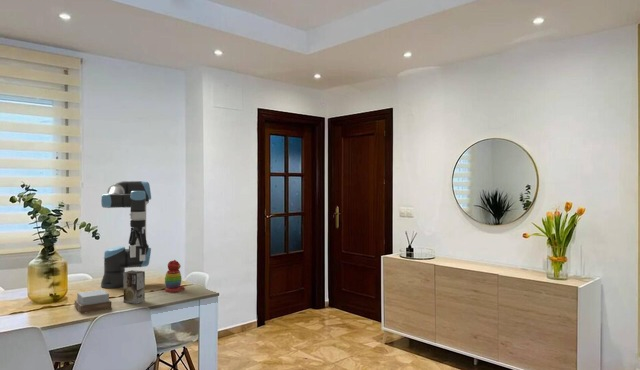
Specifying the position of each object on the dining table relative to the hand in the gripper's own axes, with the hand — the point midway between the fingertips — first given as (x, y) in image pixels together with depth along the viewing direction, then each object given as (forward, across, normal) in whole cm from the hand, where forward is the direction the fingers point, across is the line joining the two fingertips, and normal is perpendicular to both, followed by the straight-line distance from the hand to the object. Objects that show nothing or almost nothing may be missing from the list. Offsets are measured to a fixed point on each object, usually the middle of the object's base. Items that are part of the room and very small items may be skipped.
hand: (137, 259), depth 240 cm
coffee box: (+23, 0, -2) cm, 23 cm away
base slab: (+23, -2, -22) cm, 32 cm away
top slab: (+19, -2, -22) cm, 29 cm away
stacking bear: (+23, -10, +25) cm, 35 cm away
